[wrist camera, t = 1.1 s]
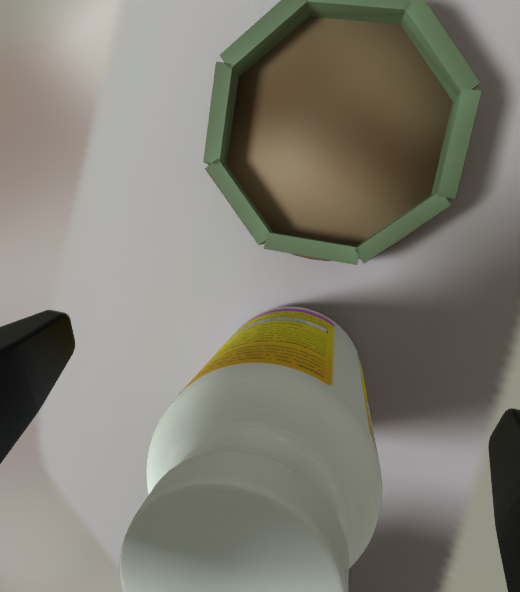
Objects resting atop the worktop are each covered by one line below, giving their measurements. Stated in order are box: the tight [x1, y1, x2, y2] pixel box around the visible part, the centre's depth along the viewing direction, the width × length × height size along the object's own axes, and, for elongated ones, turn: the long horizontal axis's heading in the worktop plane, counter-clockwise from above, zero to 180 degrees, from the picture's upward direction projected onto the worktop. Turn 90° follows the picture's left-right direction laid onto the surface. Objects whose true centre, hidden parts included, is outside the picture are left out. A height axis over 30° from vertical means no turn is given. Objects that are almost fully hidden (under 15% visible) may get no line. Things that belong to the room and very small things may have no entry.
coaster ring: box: [203, 0, 482, 265], centre depth 18 cm, size 11×11×2 cm
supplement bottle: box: [120, 307, 382, 592], centre depth 14 cm, size 7×7×13 cm
